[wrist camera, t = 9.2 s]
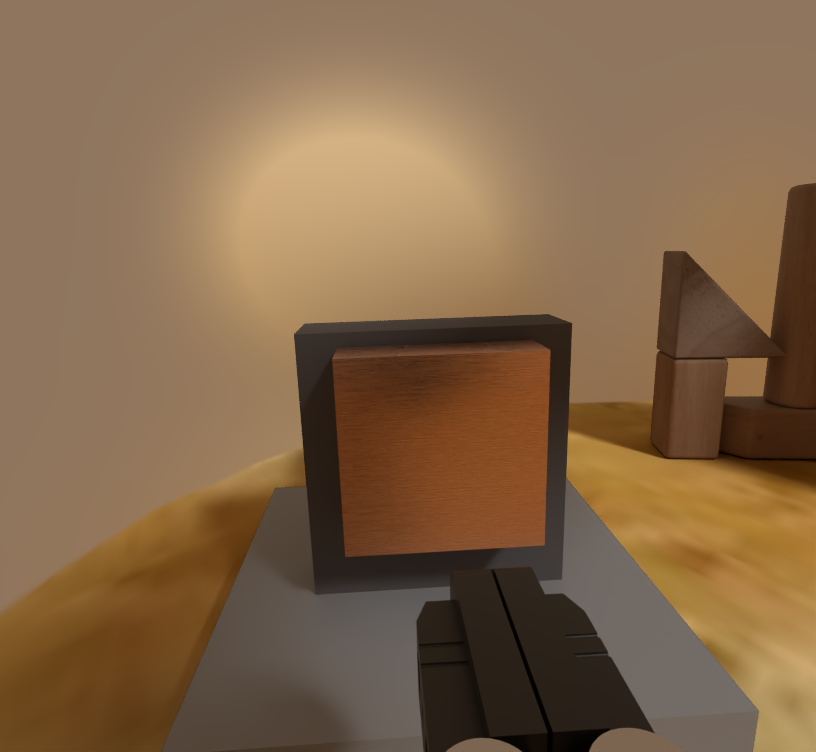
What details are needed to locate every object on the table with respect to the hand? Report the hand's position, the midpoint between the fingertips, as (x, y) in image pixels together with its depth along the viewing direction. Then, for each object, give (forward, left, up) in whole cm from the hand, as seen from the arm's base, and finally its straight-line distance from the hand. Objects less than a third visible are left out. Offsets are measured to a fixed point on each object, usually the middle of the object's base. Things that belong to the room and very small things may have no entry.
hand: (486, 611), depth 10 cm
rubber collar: (0, -12, -7) cm, 13 cm away
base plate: (0, -12, -8) cm, 15 cm away
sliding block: (0, -15, -4) cm, 15 cm away
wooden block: (-23, -26, -8) cm, 36 cm away
